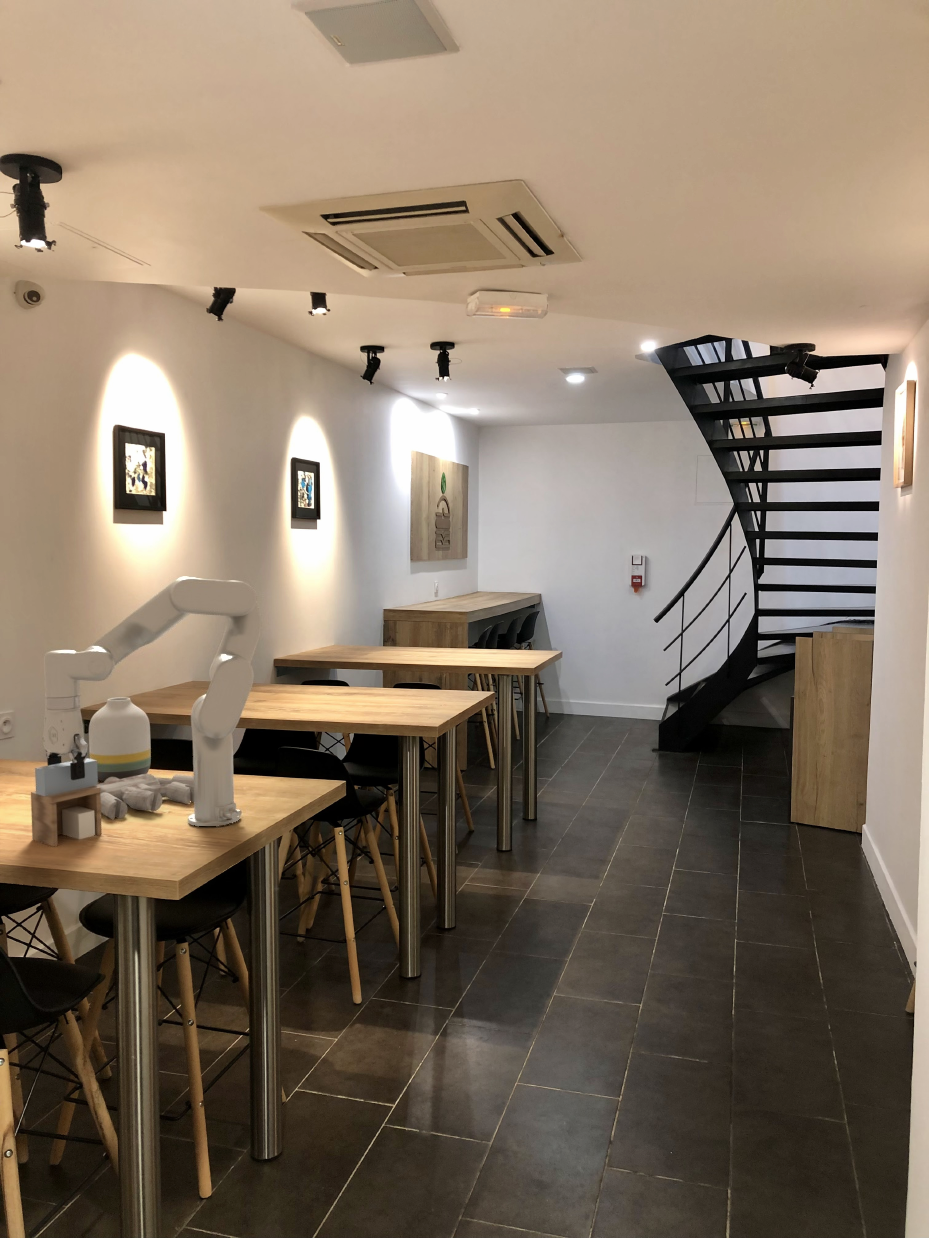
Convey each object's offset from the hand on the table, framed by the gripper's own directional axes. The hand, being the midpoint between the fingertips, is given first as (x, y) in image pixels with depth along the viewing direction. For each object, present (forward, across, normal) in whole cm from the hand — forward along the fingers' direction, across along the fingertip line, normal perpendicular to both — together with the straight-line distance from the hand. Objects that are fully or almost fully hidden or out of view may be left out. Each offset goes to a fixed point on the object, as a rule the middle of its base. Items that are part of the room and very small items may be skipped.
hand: (66, 776), depth 217 cm
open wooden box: (+14, 0, 0) cm, 14 cm away
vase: (+15, -41, +41) cm, 60 cm away
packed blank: (+14, 0, +2) cm, 15 cm away
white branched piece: (+15, -16, +28) cm, 36 cm away
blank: (+3, 0, 0) cm, 3 cm away
